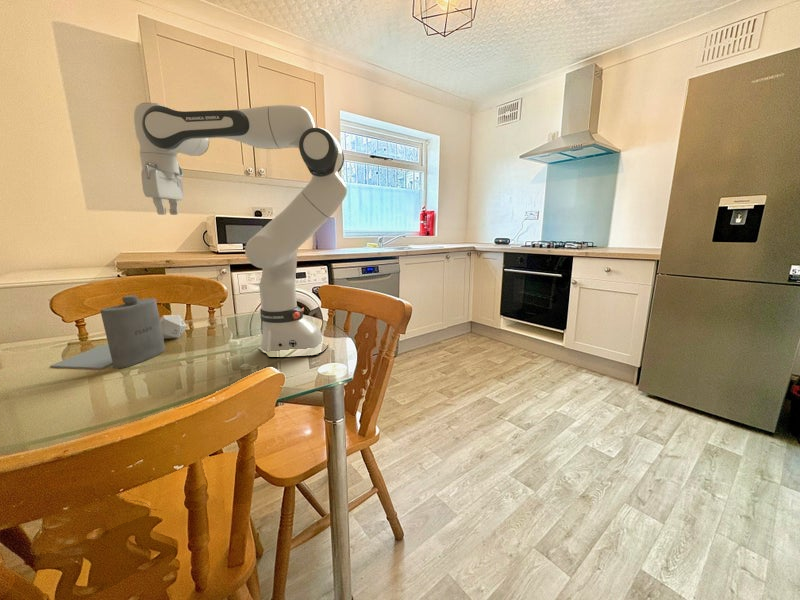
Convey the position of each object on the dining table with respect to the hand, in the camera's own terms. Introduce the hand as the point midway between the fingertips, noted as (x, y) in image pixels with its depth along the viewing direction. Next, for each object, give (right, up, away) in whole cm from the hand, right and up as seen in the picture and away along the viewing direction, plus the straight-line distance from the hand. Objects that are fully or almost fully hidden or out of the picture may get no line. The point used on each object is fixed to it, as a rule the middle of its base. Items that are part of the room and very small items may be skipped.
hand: (168, 214), depth 98 cm
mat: (-23, -44, +3) cm, 50 cm away
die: (-13, -40, +20) cm, 46 cm away
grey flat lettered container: (-10, -45, +2) cm, 46 cm away
